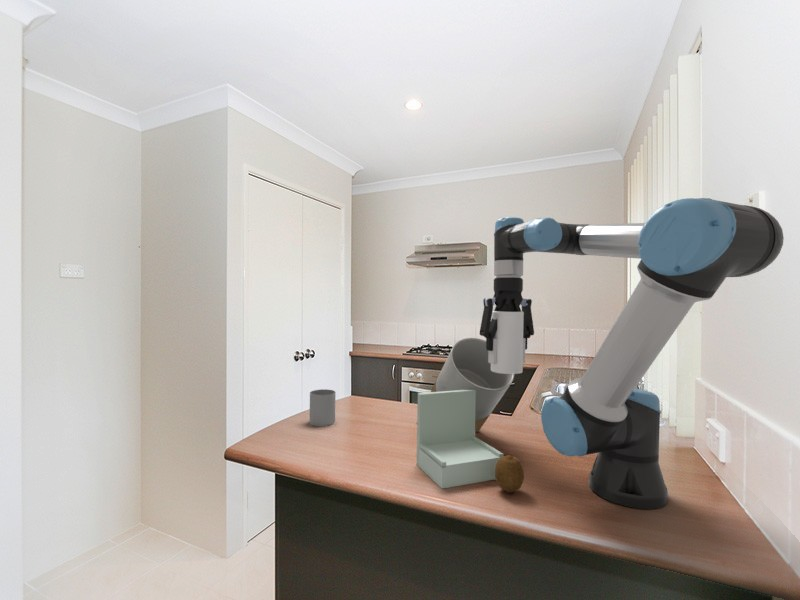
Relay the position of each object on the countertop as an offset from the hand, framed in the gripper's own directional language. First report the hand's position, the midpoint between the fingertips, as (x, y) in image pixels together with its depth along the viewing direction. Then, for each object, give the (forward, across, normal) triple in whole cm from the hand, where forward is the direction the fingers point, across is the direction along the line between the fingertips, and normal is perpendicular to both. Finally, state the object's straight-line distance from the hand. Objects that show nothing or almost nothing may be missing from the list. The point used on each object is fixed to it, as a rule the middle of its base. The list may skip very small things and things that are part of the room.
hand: (506, 362), depth 110 cm
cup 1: (+25, +41, -45) cm, 66 cm away
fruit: (+25, +11, +17) cm, 32 cm away
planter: (+21, +3, -25) cm, 32 cm away
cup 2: (+2, 0, 0) cm, 2 cm away
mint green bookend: (+25, +16, +4) cm, 30 cm away
